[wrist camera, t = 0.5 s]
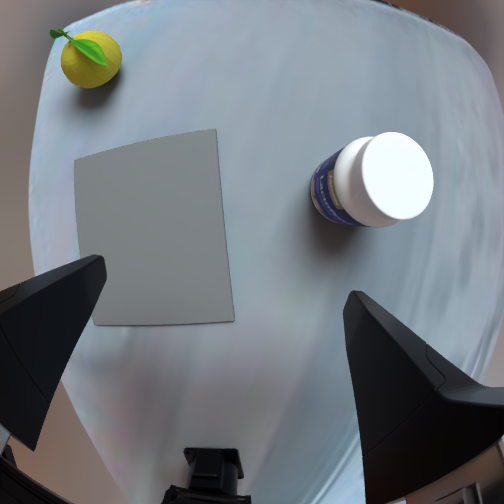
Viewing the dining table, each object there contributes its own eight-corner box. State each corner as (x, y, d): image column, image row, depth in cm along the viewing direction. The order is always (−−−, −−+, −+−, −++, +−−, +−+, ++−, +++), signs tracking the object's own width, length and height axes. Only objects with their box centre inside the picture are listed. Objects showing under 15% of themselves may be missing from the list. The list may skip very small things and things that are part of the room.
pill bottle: (294, 188, 22) (328, 165, 12) (340, 145, 21) (394, 102, 11) (341, 238, 22) (401, 253, 12) (382, 194, 22) (455, 183, 12)
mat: (234, 318, 23) (234, 320, 22) (96, 322, 23) (93, 324, 22) (216, 130, 21) (215, 128, 20) (77, 161, 21) (74, 160, 20)
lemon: (85, 65, 20) (36, 24, 10) (131, 43, 20) (92, -11, 10) (84, 112, 20) (23, 76, 11) (134, 89, 20) (83, 36, 10)
